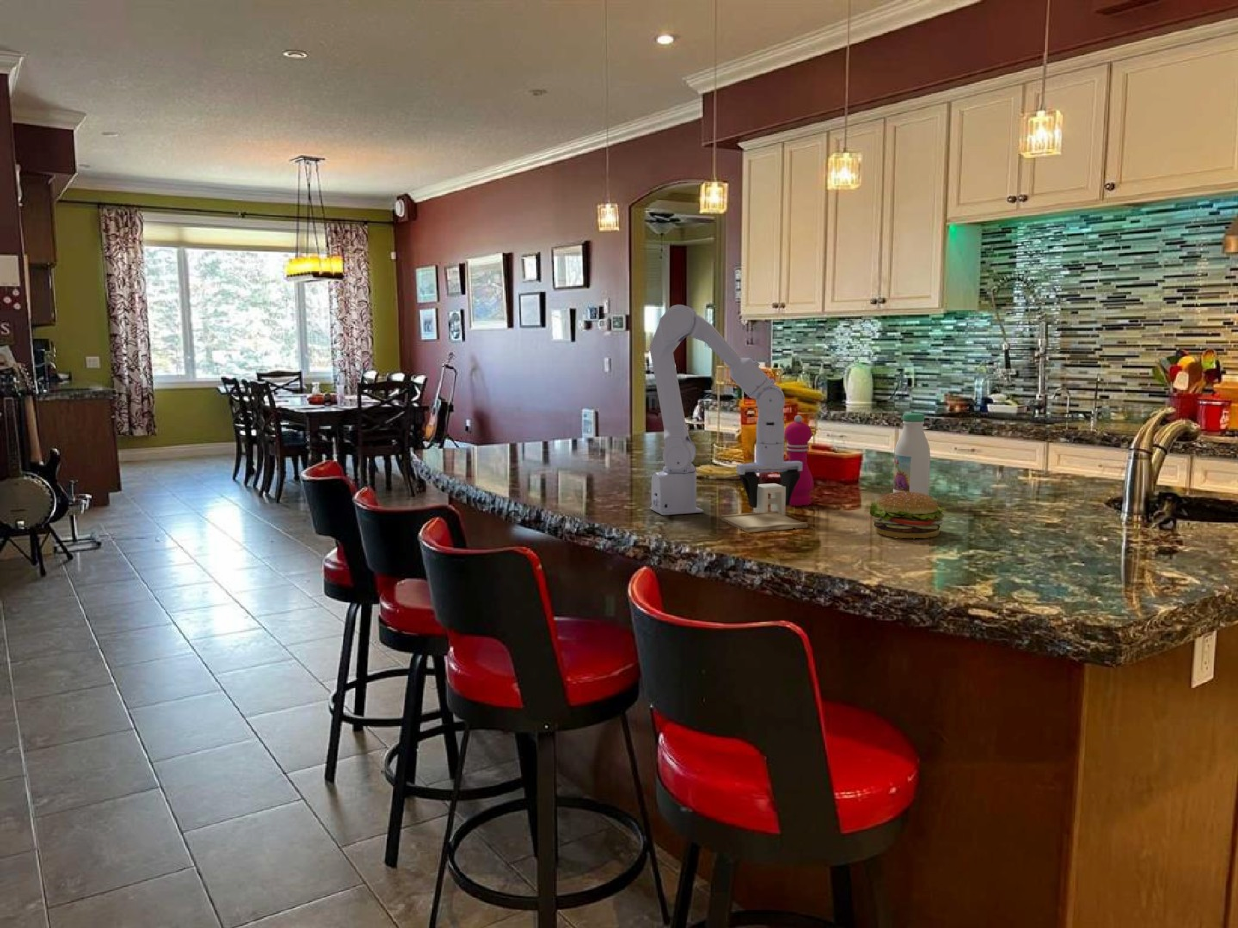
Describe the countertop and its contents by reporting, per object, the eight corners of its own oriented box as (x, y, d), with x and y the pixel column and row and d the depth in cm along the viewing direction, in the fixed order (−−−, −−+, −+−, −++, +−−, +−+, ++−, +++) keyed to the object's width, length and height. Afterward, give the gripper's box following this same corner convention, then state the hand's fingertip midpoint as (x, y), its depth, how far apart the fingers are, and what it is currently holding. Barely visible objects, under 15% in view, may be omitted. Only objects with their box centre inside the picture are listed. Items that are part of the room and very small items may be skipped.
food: (951, 529, 172) (953, 489, 171) (937, 544, 160) (938, 500, 159) (880, 522, 179) (881, 484, 178) (861, 536, 167) (862, 494, 166)
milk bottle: (923, 498, 204) (927, 412, 202) (932, 504, 197) (935, 415, 194) (889, 498, 205) (892, 412, 202) (896, 504, 198) (899, 415, 195)
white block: (763, 516, 186) (764, 488, 185) (753, 512, 191) (753, 484, 190) (785, 514, 188) (785, 486, 187) (774, 510, 192) (774, 483, 192)
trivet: (747, 532, 171) (747, 527, 171) (720, 519, 183) (720, 515, 183) (807, 527, 175) (807, 523, 175) (776, 515, 187) (776, 511, 187)
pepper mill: (813, 506, 196) (815, 416, 193) (780, 506, 197) (781, 416, 195) (813, 500, 203) (814, 413, 200) (781, 500, 204) (782, 413, 202)
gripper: (747, 446, 181) (746, 511, 183) (810, 443, 186) (808, 506, 187) (732, 442, 188) (732, 505, 190) (793, 439, 192) (792, 501, 194)
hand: (769, 505), depth 189 cm, fingers open, 7 cm apart
